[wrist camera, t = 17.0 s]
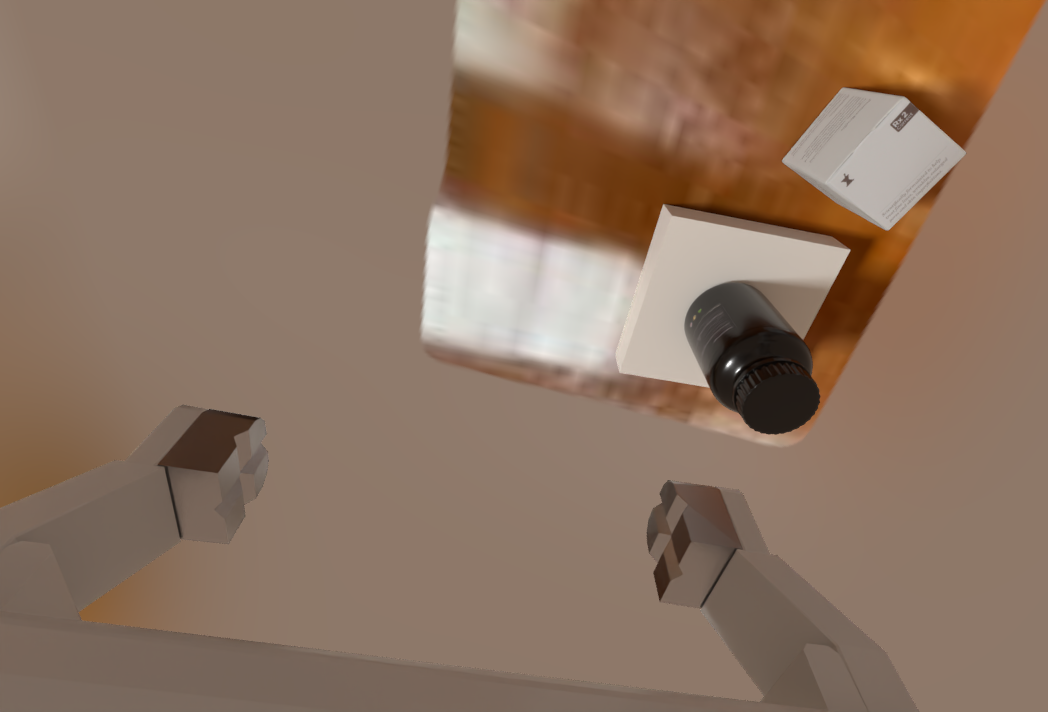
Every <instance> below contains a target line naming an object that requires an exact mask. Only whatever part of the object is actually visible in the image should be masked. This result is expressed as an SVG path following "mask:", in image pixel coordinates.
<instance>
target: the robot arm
mask: <svg viewBox="0 0 1048 712" xmlns="http://www.w3.org/2000/svg"><path fill="white" fill-rule="evenodd" d="M265 436H266V427H265V421H264V420H263V419H261V418H258V417H252V416H247V415H241V414H236V413H230V412H224V411H219V410H212V409H209V410H208V409H203V408H198V407H193V406H187V405H181V406H178V407H176V408H174V409H173V410H172V411H171V412H170V413H169V414H168V416H167V417H166V418H165V419H164V420H163V421H162V422H161V423H160V424H159V425H158V426H157V427H156V428H155V429H154V430H153V431H152V432H151V434H149V435H148V437H147V438H146V439H145V440H144V441H143V442H142V443H141V444H140V445H139V446H138V447H137V448H136V449H135V450H134V451H133V452H132V453H131V455H129V456H128V458H127V459H126V460H125V461H119V460H114V461H112V462H110V463H107V464H105V465H102V466H100V467H98V468H95V469H93V470H90V471H88V472H86V473H83V474H81V475H79V476H76V477H74V478H71V479H69V480H66V481H64V482H62V483H59V484H57V485H54V486H53V487H50V488H47V489H45V490H43V491H40V492H38V493H35V494H33V495H31V496H28V497H26V498H23V499H21V500H18V501H16V502H14V503H11V504H9V505H7V506H4V507H2V508H0V712H919V710H918V709H917V707H916V705H915V703H914V702H913V700H912V698H911V696H910V695H909V693H908V691H907V689H906V687H905V685H904V684H903V682H902V680H901V678H900V677H899V675H898V673H897V671H896V669H895V667H894V666H893V664H892V662H891V660H890V658H889V657H888V655H887V653H886V652H885V651H884V650H883V649H882V648H881V647H880V646H879V645H877V644H876V643H875V642H874V641H873V640H872V639H871V638H870V637H868V636H867V635H866V634H865V633H864V632H863V631H862V630H861V629H860V628H858V627H857V626H856V625H855V624H854V623H853V622H852V621H851V620H849V619H848V618H847V617H846V616H845V615H844V614H843V613H842V612H840V611H839V610H838V609H837V608H836V607H835V606H834V605H833V604H832V603H830V602H829V601H828V600H827V599H826V598H825V597H824V596H822V595H821V594H820V593H819V592H818V591H817V590H816V589H815V588H814V587H812V586H811V585H810V584H809V583H808V582H807V581H806V580H805V579H803V578H802V577H801V576H800V575H799V574H798V573H797V572H796V571H795V570H793V569H792V568H791V567H790V566H789V565H788V564H787V563H786V562H784V561H783V560H782V559H781V558H780V557H779V556H778V555H773V554H770V553H769V550H768V548H767V546H766V544H765V541H764V539H763V537H762V535H761V532H760V530H759V528H758V526H757V524H756V522H755V519H754V517H753V515H752V513H751V511H750V508H749V506H748V504H747V501H746V499H745V497H744V495H743V493H742V492H740V491H739V490H737V489H729V488H722V487H712V486H705V485H698V484H691V483H685V482H677V481H671V480H668V481H667V482H666V483H665V484H664V485H663V487H662V489H661V492H660V496H661V500H662V503H661V504H659V505H658V506H656V507H655V508H653V510H652V512H651V515H650V517H649V520H648V527H647V545H648V550H649V554H650V555H651V556H652V557H653V558H654V560H655V561H656V562H657V563H658V564H657V566H656V568H655V570H654V573H653V574H654V578H655V583H656V587H657V592H658V596H659V601H660V602H663V603H669V604H676V605H681V606H687V607H694V608H700V609H701V610H700V611H701V612H702V614H703V615H704V616H705V618H706V619H707V620H708V622H709V623H710V624H711V626H712V627H713V628H714V630H715V631H716V632H717V634H718V635H719V636H720V637H721V639H722V640H723V642H724V643H725V644H726V646H727V647H728V648H729V650H730V651H731V652H732V654H733V655H734V656H735V658H736V659H737V660H738V662H739V663H740V664H741V666H742V667H743V668H744V670H745V671H746V672H747V674H748V675H749V677H750V678H751V679H752V680H753V682H754V683H755V685H756V686H757V687H758V689H759V690H760V691H761V692H762V694H763V695H764V697H763V699H762V700H761V701H760V702H754V701H746V700H737V699H729V698H721V697H713V696H704V695H696V694H687V693H679V692H671V691H663V690H654V689H646V688H637V687H629V686H620V685H612V684H604V683H595V682H587V681H579V680H570V679H561V678H554V677H545V676H537V675H528V674H519V673H511V672H503V671H495V670H486V669H478V668H470V667H462V666H453V665H445V664H436V663H429V662H420V661H412V660H404V659H396V658H387V657H378V656H371V655H362V654H354V653H346V652H338V651H330V650H321V649H313V648H305V647H296V646H288V645H280V644H271V643H264V642H255V641H246V640H239V639H230V638H221V637H213V636H205V635H197V634H188V633H180V632H172V631H163V630H156V629H147V628H139V627H131V626H122V625H113V624H106V623H97V622H89V621H82V620H81V617H80V615H79V613H78V612H79V611H81V610H82V609H84V608H85V607H87V606H88V605H89V604H91V603H92V602H94V601H95V600H97V599H98V598H100V597H101V596H102V595H104V594H105V593H107V592H108V591H110V590H111V589H113V588H114V587H116V586H117V585H118V584H120V583H121V582H123V581H124V580H126V579H127V578H129V577H130V576H132V575H133V574H134V573H136V572H137V571H139V570H140V569H142V568H143V567H145V566H146V565H147V564H149V563H150V562H152V561H153V560H155V559H156V558H157V557H159V556H161V555H162V554H163V553H165V552H166V551H168V550H169V549H171V548H172V547H174V546H175V545H177V544H178V543H179V542H180V539H184V540H193V541H203V542H213V543H222V544H229V543H230V541H231V539H232V538H233V536H234V534H235V533H236V531H237V529H238V528H239V526H240V524H241V523H242V521H243V519H244V518H245V508H244V505H245V504H247V503H249V502H250V501H252V500H254V499H255V498H256V497H257V496H258V494H259V492H260V490H261V488H262V487H263V484H264V481H265V478H266V475H267V470H268V462H269V460H268V451H267V450H266V449H265V447H264V446H263V445H262V444H261V442H262V440H263V439H264V437H265Z"/></svg>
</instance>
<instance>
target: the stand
mask: <svg viewBox="0 0 1048 712" xmlns="http://www.w3.org/2000/svg"><path fill="white" fill-rule="evenodd" d="M849 252H850V249H849V248H847V247H846V246H845V245H843V244H842V243H840V242H839V241H838V240H836V239H835V238H833V237H832V236H827V235H822V234H816V233H811V232H806V231H801V230H796V229H791V228H785V227H780V226H775V225H770V224H765V223H760V222H754V221H749V220H744V219H739V218H734V217H728V216H723V215H718V214H713V213H708V212H703V211H697V210H692V209H687V208H682V207H677V206H671V205H666V204H663V207H662V210H661V213H660V216H659V219H658V223H657V226H656V229H655V232H654V235H653V238H652V241H651V244H650V248H649V251H648V254H647V257H646V260H645V263H644V266H643V269H642V273H641V276H640V279H639V282H638V285H637V288H636V291H635V294H634V297H633V301H632V304H631V307H630V310H629V313H628V316H627V319H626V322H625V326H624V329H623V332H622V335H621V338H620V341H619V344H618V347H617V351H616V354H615V356H616V360H617V364H618V368H619V372H620V373H625V374H631V375H637V376H643V377H649V378H655V379H661V380H667V381H673V382H679V383H685V384H691V385H697V386H703V387H709V385H708V383H707V381H706V379H705V377H704V375H703V373H702V370H701V368H700V366H699V364H698V362H697V360H696V358H695V356H694V354H693V352H692V349H691V347H690V345H689V343H688V341H687V338H686V335H685V330H684V323H685V317H686V314H687V311H688V309H689V307H690V306H691V304H692V303H693V302H694V300H695V299H696V298H697V297H698V296H699V295H701V294H702V293H703V292H705V291H706V290H708V289H710V288H712V287H714V286H716V285H720V284H723V283H730V282H738V283H744V284H748V285H751V286H753V287H755V288H756V289H758V290H759V291H760V292H762V293H763V294H764V296H765V297H766V298H767V299H768V300H769V301H770V302H771V303H772V304H773V306H774V307H775V308H776V309H777V310H778V312H779V313H780V314H781V315H782V316H783V317H784V319H785V320H786V321H787V322H788V323H789V324H790V326H791V327H792V328H793V329H794V330H795V331H796V333H797V334H798V335H799V336H800V337H801V338H802V340H803V339H804V338H805V336H806V334H807V332H808V330H809V328H810V326H811V324H812V322H813V321H814V319H815V317H816V315H817V313H818V311H819V309H820V307H821V305H822V303H823V302H824V300H825V298H826V296H827V294H828V292H829V290H830V288H831V286H832V284H833V283H834V281H835V279H836V277H837V275H838V273H839V271H840V269H841V267H842V265H843V264H844V262H845V260H846V258H847V256H848V254H849ZM709 388H710V387H709Z"/></svg>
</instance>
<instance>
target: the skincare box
mask: <svg viewBox="0 0 1048 712" xmlns="http://www.w3.org/2000/svg"><path fill="white" fill-rule="evenodd" d="M965 155H966V152H965V151H964V150H963V149H962V148H961V147H960V146H959V145H958V144H957V143H955V142H954V141H953V140H952V139H951V138H950V137H949V136H948V135H947V134H945V133H944V132H943V131H942V130H941V129H940V128H939V127H938V126H936V125H935V124H934V123H933V122H932V121H931V120H930V119H929V118H928V117H927V116H925V115H924V114H923V113H922V112H921V111H920V110H919V109H917V108H916V107H915V106H914V105H913V104H912V103H911V102H910V101H909V100H908V99H907V98H906V97H904V96H897V95H890V94H884V93H877V92H871V91H865V90H858V89H852V88H845V87H843V88H842V89H841V90H840V91H839V92H838V93H837V95H836V96H835V97H834V98H833V99H832V101H831V102H830V103H829V104H828V105H827V106H826V108H825V109H824V110H823V111H822V112H821V114H820V115H819V116H818V117H817V118H816V120H815V121H814V122H813V123H812V124H811V126H810V127H809V128H808V129H807V130H806V132H805V133H804V134H803V135H802V136H801V138H800V139H799V140H798V141H797V143H796V144H795V145H794V146H793V147H792V149H791V150H790V151H789V152H788V153H787V155H786V156H785V157H784V158H783V160H782V162H783V163H784V164H785V165H786V166H788V167H789V168H791V169H792V170H793V171H795V172H796V173H797V174H799V175H800V176H801V177H803V178H804V179H805V180H807V181H808V182H809V183H811V184H812V185H813V186H815V187H816V188H817V189H819V190H820V191H821V192H823V193H824V194H825V195H827V196H828V197H829V198H831V199H832V200H833V201H835V202H836V203H837V204H839V205H841V206H843V207H845V208H847V209H848V210H850V211H852V212H854V213H856V214H858V215H859V216H861V217H863V218H865V219H866V220H868V221H870V222H871V223H873V224H875V225H877V226H879V227H881V228H882V229H885V230H890V229H891V228H892V227H893V226H894V225H895V224H896V223H897V222H898V221H899V220H900V219H901V218H902V217H903V216H904V215H905V214H906V213H907V212H908V211H909V210H910V209H911V208H912V207H913V206H914V205H915V204H916V203H917V202H918V201H919V200H920V199H921V198H922V197H923V196H924V195H925V194H926V193H927V192H928V191H929V190H930V189H931V188H932V187H933V186H934V185H935V184H936V183H937V182H938V181H939V180H940V179H941V178H942V177H943V176H944V175H945V174H946V173H947V172H948V171H949V170H950V169H951V168H952V167H954V166H955V165H956V164H957V163H958V162H959V161H960V160H961V159H962V158H963V157H964V156H965Z"/></svg>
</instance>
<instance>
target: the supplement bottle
mask: <svg viewBox="0 0 1048 712" xmlns="http://www.w3.org/2000/svg"><path fill="white" fill-rule="evenodd" d="M684 330H685V335H686V338H687V341H688V343H689V345H690V347H691V349H692V352H693V354H694V356H695V358H696V360H697V362H698V364H699V366H700V368H701V370H702V373H703V375H704V377H705V379H706V381H707V383H708V385H709V387H710V389H711V391H712V393H713V395H714V396H715V398H716V399H717V400H718V401H719V402H720V403H721V404H722V405H723V406H725V407H726V408H728V409H730V410H732V411H734V412H737V413H739V414H740V415H741V416H742V418H743V420H744V422H745V423H746V424H748V426H749V427H750V428H752V429H754V430H755V431H758V432H760V433H766V434H775V435H776V434H779V433H781V434H783V433H786V432H791V431H792V430H794V429H797V428H799V427H800V426H802V425H804V424H805V423H806V422H807V421H808V420H810V419H811V417H812V416H813V415H814V414H815V411H816V410H817V409H818V405H819V403H820V401H819V399H820V394H819V388H818V387H817V384H816V382H815V381H814V380H813V379H812V377H811V374H812V368H813V362H812V356H811V353H810V350H809V348H808V347H807V345H806V344H805V342H804V341H803V340H802V338H801V337H800V336H799V335H798V334H797V333H796V331H795V330H794V329H793V328H792V327H791V326H790V324H789V323H788V322H787V321H786V320H785V319H784V317H783V316H782V315H781V314H780V313H779V312H778V310H777V309H776V308H775V307H774V306H773V304H772V303H771V302H770V301H769V300H768V299H767V298H766V297H765V296H764V294H763V293H762V292H760V291H759V290H758V289H756V288H755V287H753V286H751V285H748V284H744V283H738V282H730V283H723V284H720V285H716V286H714V287H712V288H710V289H708V290H706V291H705V292H703V293H702V294H701V295H699V296H698V297H697V298H696V299H695V300H694V302H693V303H692V304H691V306H690V307H689V309H688V311H687V314H686V317H685V323H684Z"/></svg>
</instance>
